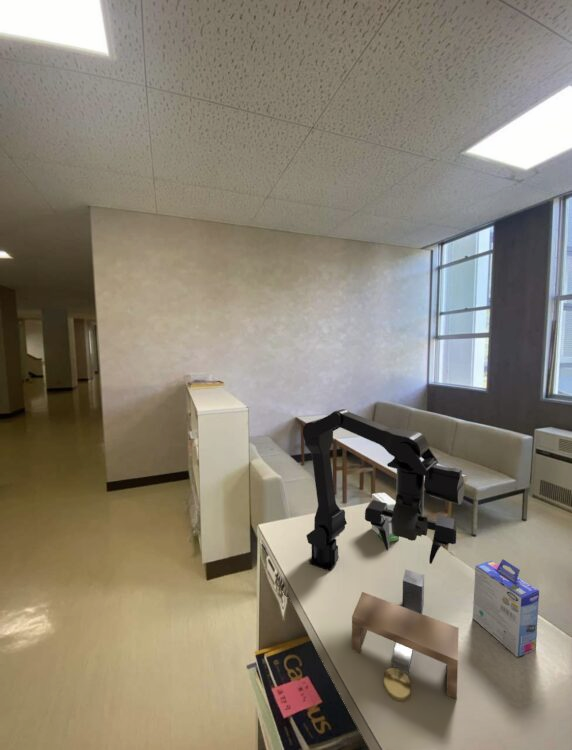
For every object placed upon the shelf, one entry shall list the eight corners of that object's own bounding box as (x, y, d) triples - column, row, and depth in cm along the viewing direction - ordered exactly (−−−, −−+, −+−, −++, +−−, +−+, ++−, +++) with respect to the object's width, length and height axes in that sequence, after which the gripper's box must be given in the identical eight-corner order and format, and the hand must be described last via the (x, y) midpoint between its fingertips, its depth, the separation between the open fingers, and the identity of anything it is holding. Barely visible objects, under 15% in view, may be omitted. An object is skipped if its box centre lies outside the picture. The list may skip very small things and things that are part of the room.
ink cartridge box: (538, 650, 60) (542, 579, 59) (519, 660, 59) (522, 587, 57) (489, 610, 70) (491, 548, 69) (471, 618, 68) (473, 554, 67)
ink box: (399, 540, 96) (400, 503, 95) (385, 543, 94) (385, 505, 94) (384, 525, 104) (384, 491, 103) (370, 528, 103) (371, 493, 102)
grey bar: (389, 664, 58) (389, 629, 58) (405, 597, 74) (405, 569, 73) (412, 674, 56) (412, 638, 56) (423, 604, 72) (424, 575, 71)
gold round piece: (381, 695, 53) (381, 687, 53) (385, 671, 57) (385, 663, 57) (409, 708, 51) (409, 699, 51) (411, 682, 55) (411, 674, 55)
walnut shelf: (352, 649, 61) (352, 616, 61) (362, 622, 67) (362, 591, 67) (456, 699, 52) (457, 660, 52) (457, 662, 58) (458, 627, 58)
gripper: (357, 494, 67) (357, 563, 68) (456, 517, 58) (453, 596, 59) (371, 476, 77) (370, 536, 78) (458, 493, 67) (455, 561, 69)
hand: (408, 555), depth 71 cm, fingers open, 9 cm apart
